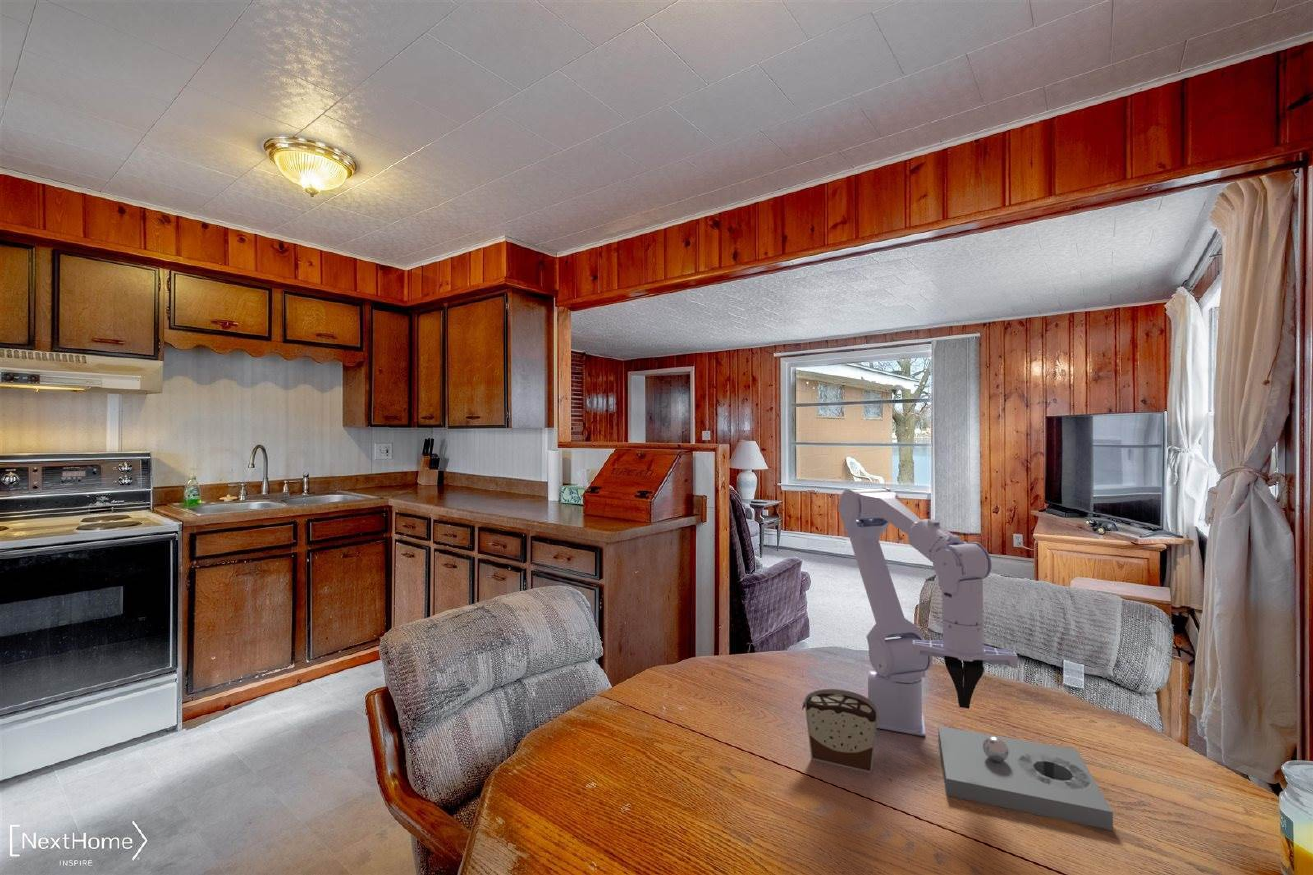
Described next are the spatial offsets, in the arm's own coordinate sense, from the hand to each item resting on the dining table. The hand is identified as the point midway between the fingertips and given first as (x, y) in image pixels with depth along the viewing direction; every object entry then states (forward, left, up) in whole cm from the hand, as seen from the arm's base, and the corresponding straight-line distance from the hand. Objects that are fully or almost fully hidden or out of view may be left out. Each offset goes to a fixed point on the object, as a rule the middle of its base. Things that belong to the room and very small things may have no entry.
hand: (963, 705), depth 90 cm
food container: (-18, -3, -11) cm, 21 cm away
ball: (+4, 0, -6) cm, 8 cm away
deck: (+7, 0, -10) cm, 12 cm away
